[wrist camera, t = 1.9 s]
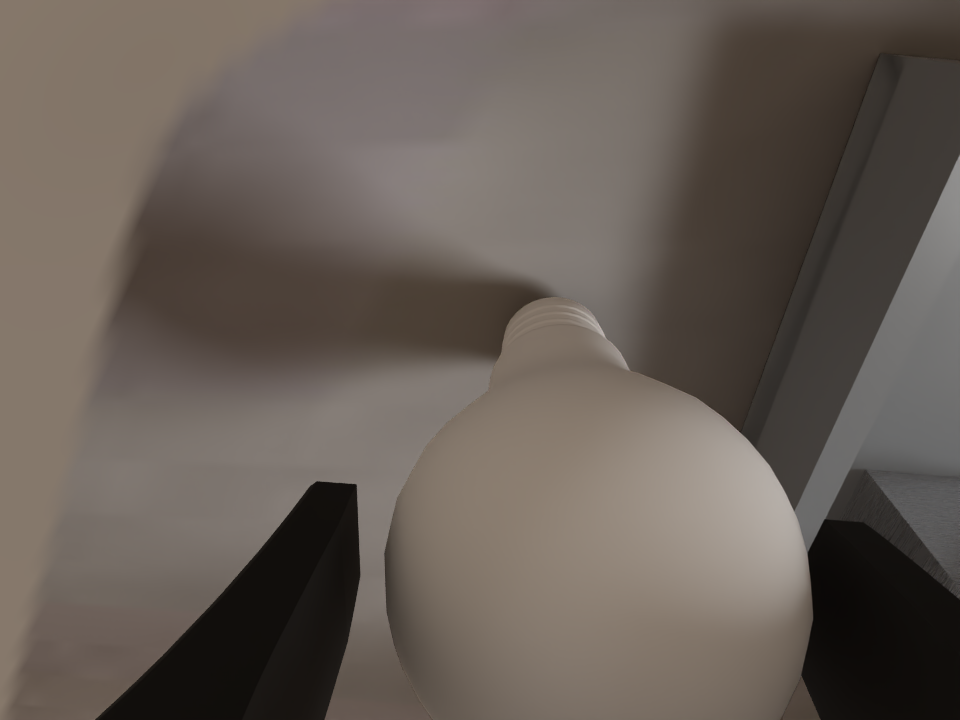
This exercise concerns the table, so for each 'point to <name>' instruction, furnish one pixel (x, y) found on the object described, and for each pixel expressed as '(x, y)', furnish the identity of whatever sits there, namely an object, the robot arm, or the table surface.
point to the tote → (874, 306)
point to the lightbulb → (594, 548)
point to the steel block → (914, 518)
